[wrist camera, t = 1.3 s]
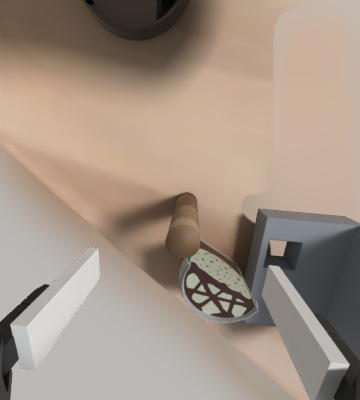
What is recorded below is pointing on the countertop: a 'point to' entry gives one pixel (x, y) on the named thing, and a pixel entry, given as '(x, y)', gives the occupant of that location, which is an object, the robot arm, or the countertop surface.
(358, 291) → the socket
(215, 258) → the food container
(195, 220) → the peg
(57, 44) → the countertop surface
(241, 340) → the countertop surface
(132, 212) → the countertop surface
